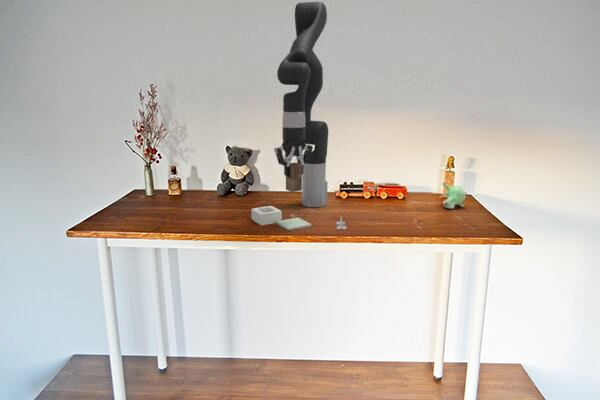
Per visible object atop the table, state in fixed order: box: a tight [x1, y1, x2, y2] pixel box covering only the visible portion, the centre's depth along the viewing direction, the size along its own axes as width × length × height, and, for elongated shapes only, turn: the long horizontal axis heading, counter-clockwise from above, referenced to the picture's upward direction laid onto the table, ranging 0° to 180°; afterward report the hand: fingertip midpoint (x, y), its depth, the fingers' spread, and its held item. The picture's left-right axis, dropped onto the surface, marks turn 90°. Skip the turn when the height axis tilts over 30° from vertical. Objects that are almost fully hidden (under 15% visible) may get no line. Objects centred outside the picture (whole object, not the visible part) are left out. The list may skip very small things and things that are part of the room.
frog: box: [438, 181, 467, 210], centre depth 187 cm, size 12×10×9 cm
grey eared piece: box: [335, 215, 347, 230], centre depth 167 cm, size 15×7×4 cm, turn 179°
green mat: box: [275, 217, 312, 231], centre depth 165 cm, size 9×9×1 cm
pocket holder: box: [250, 205, 283, 226], centre depth 169 cm, size 8×8×4 cm
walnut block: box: [285, 161, 302, 193], centre depth 161 cm, size 4×4×9 cm
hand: (293, 176), depth 161 cm, fingers closed on walnut block, 4 cm apart
